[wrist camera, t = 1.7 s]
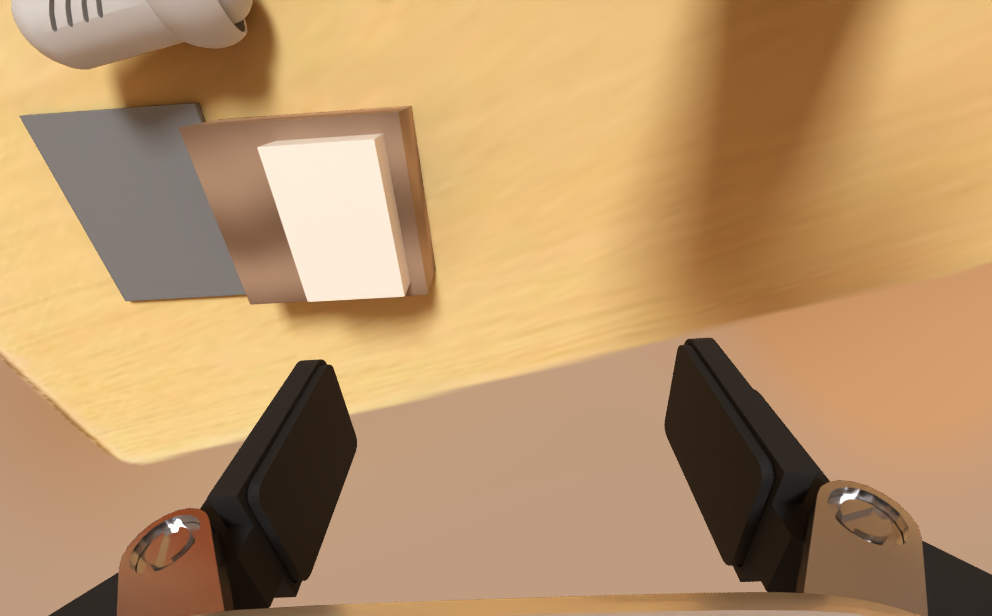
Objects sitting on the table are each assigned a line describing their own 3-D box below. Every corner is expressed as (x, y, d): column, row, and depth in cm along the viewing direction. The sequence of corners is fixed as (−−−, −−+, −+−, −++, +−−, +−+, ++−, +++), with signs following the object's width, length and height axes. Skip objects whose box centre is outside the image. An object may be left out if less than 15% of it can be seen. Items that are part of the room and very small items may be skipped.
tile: (274, 140, 23) (257, 147, 21) (383, 133, 23) (373, 139, 21) (319, 287, 28) (307, 301, 26) (410, 281, 27) (404, 296, 26)
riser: (220, 119, 26) (178, 127, 23) (411, 105, 26) (398, 112, 22) (277, 278, 32) (250, 304, 28) (435, 269, 31) (428, 294, 28)
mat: (25, 115, 26) (19, 115, 26) (198, 102, 26) (194, 103, 25) (129, 298, 33) (125, 301, 32) (268, 290, 32) (266, 293, 32)
